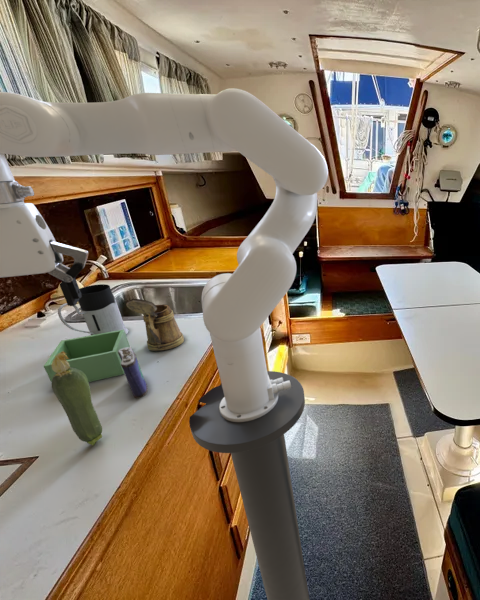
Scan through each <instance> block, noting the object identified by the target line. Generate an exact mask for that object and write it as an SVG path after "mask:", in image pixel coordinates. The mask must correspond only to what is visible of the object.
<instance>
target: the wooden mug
mask: <svg viewBox="0 0 480 600" xmlns="http://www.w3.org/2000/svg"><path fill="white" fill-rule="evenodd" d="M125 305H126V307H127V308H128V309H129V310H130V311H132V312H134V313H137V314H141V315H143V317H142V318H143V322H144V324H145V331H146V337H147V340H146V345H147V350H149V351H153V352H163V351H169V350H172V349H176V348H177V347H179V346H181V345H182V344H183V343H184V341H185V337H184V335H183V333H182V331H181V329H180V327H179V325H178V323H177V320H176V318H175V313H174V311H173V309H171V307H170V305H168V304H155V303H154V302H152V301H151V300H150V301H149V300H145V299H140V298H131V299H129V300H128V301H126V303H125Z"/></svg>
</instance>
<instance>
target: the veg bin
mask: <svg viewBox="0 0 480 600" xmlns="http://www.w3.org/2000/svg"><path fill="white" fill-rule="evenodd" d="M125 347H131V345H130V342H129V338H128V336H127V334H125V331H124V330H118V331H113V332H107V333H101V334H96V335H91V334H90V335H85V336H80V337H79V336H78V337H74V338H67V339H62V340H60V342H59V343H58V344H57V346H56V348H55V349H54V350H53V352H52V353H51V355H50V356H49V357H48V359H47V360H46V362H45V363H44V365H43V368H44V370H45V373H46V375H47V377H48V379H49V380H50V382H51V383H52V379H53V376H54V375H55V374H56V372H54V371H53V370H52V362H53V360H54V358H55V357H54V356H56V355H57V354H58V353H60V352H65V353H67V354H65V355H66V356H67V357H68V358H70V359H66V358H65V357H64V358H65V359H66V360H67V362H68V363H69V365H70V366H69V367H70V368H76V369H78V370H81V371H82V372H83V373H84V374H85V375H86V377H87V379H88V382H89V383H91V382H96V381H100V380H105V379H109V378H114V377H117V376H121V375H125V373H124V370H123V368H122V366H121V362H122V361H121V358H120V356H119V354H118V351H119V350H120V349H122V348H125Z"/></svg>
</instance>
